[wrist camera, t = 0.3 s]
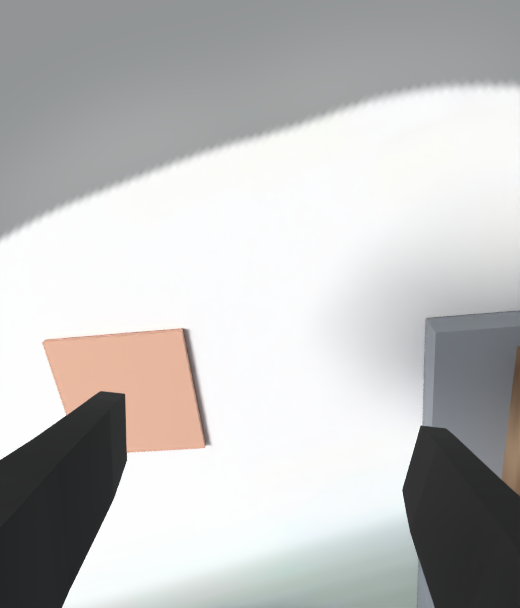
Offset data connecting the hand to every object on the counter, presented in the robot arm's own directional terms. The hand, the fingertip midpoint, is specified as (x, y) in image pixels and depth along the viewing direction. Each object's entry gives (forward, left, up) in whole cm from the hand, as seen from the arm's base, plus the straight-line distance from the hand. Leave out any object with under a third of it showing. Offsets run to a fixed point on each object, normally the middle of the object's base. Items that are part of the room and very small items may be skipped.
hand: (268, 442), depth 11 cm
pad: (-5, +8, -11) cm, 14 cm away
